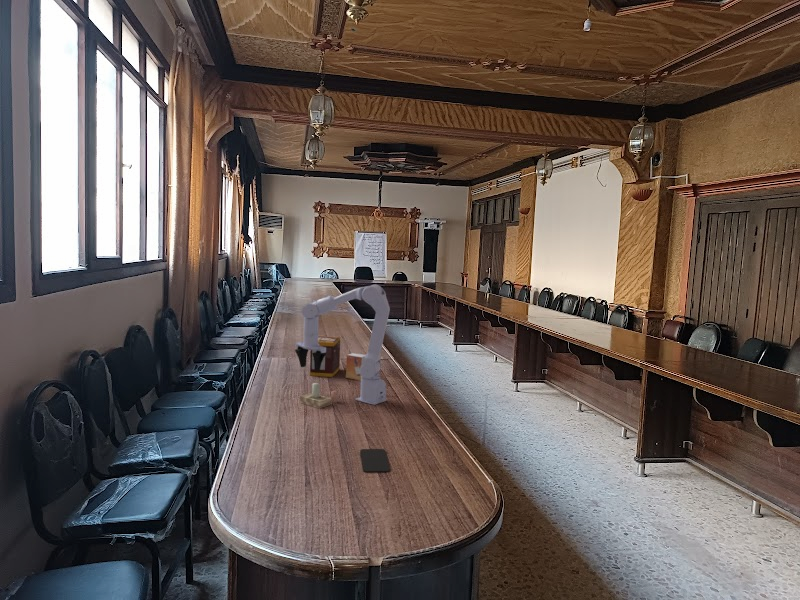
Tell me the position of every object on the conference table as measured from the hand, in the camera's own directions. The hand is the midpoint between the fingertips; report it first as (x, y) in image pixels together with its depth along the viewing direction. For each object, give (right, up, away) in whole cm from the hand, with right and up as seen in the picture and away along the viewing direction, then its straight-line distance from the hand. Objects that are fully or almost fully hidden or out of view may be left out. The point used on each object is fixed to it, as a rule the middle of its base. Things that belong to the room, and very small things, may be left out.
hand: (310, 368), depth 211 cm
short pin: (+10, -12, -7) cm, 17 cm away
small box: (+16, -8, +29) cm, 34 cm away
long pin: (+4, -12, -10) cm, 16 cm away
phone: (+28, -19, -60) cm, 69 cm away
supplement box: (+1, -7, +37) cm, 38 cm away
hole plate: (+4, -12, -10) cm, 16 cm away
